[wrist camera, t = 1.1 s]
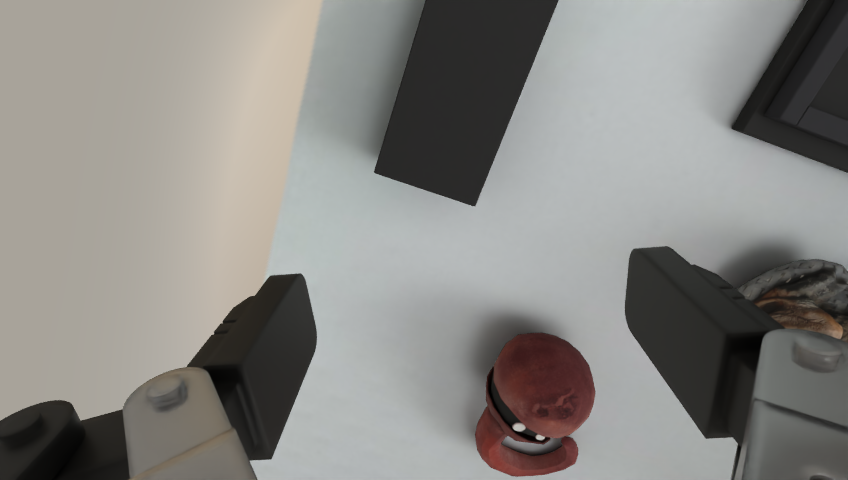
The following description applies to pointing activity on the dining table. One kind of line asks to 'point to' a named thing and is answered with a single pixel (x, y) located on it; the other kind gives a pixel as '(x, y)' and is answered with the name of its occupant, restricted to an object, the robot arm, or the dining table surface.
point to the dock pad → (806, 88)
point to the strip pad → (461, 92)
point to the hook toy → (534, 404)
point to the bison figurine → (804, 296)
